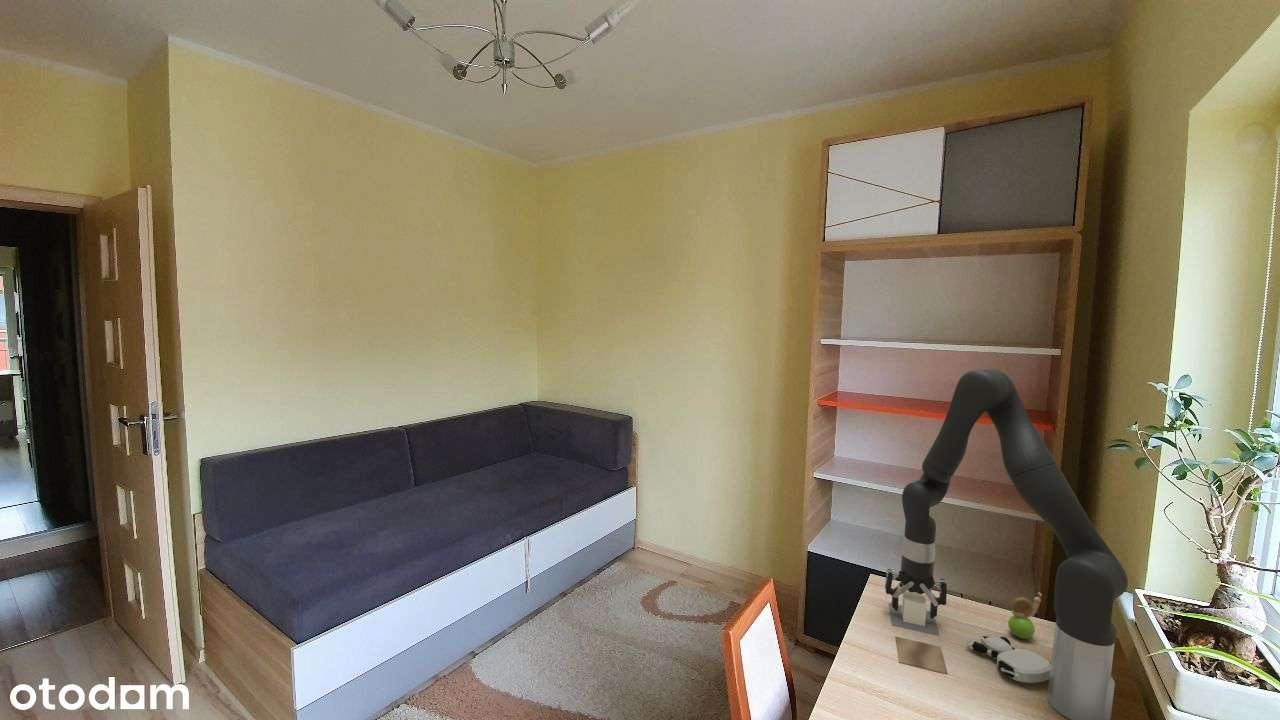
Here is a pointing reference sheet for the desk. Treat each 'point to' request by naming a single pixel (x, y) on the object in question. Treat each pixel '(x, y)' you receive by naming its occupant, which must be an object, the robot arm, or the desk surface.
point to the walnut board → (920, 655)
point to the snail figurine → (1023, 617)
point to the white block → (914, 608)
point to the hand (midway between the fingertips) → (913, 613)
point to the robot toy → (1014, 659)
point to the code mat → (898, 622)
